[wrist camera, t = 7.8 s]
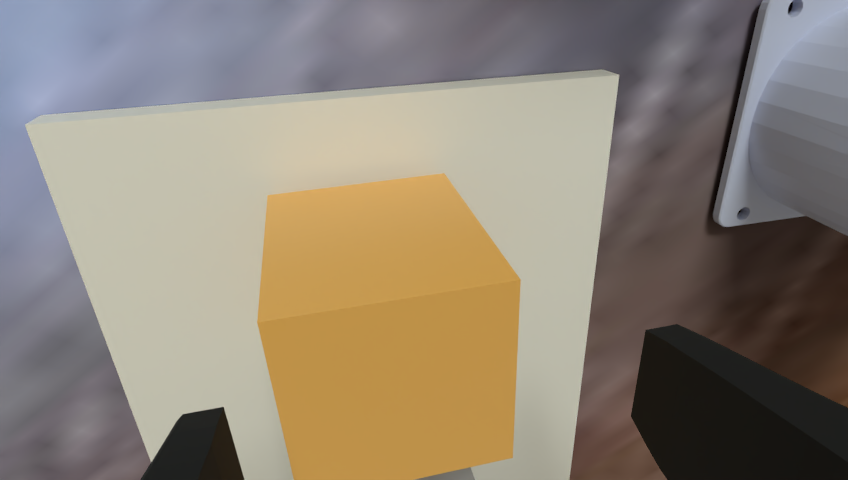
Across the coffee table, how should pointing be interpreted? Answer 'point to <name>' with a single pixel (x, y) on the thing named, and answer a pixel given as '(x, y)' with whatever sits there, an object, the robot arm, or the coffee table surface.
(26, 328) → the coffee table surface
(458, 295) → the amber foam cube
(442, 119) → the board
